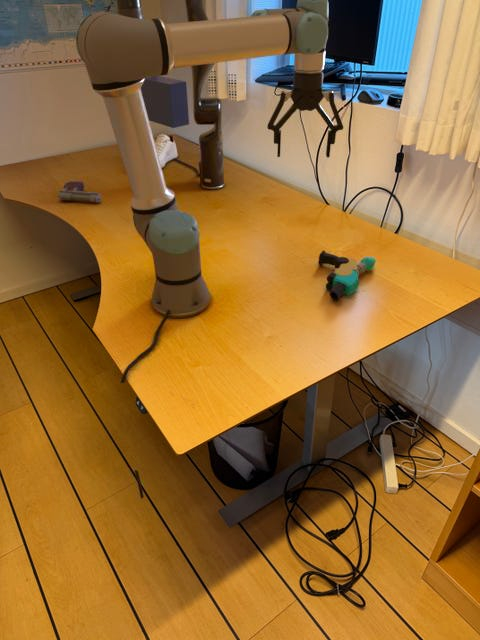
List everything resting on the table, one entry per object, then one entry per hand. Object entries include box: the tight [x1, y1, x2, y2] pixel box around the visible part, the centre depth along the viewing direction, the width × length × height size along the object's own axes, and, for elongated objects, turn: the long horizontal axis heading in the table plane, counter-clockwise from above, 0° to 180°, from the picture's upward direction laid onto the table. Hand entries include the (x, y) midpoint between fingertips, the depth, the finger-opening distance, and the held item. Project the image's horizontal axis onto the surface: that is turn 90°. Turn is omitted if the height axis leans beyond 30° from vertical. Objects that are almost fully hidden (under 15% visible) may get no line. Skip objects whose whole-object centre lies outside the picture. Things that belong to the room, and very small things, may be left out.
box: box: [141, 75, 190, 129], centre depth 143 cm, size 24×6×12 cm, turn 42°
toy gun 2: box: [318, 250, 376, 303], centre depth 132 cm, size 4×26×15 cm
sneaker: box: [154, 133, 179, 168], centre depth 214 cm, size 10×29×12 cm, turn 163°
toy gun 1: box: [56, 180, 103, 204], centre depth 185 cm, size 4×19×15 cm
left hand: (303, 155), depth 133 cm, fingers open, 13 cm apart
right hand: (139, 89), depth 147 cm, fingers closed on box, 6 cm apart
